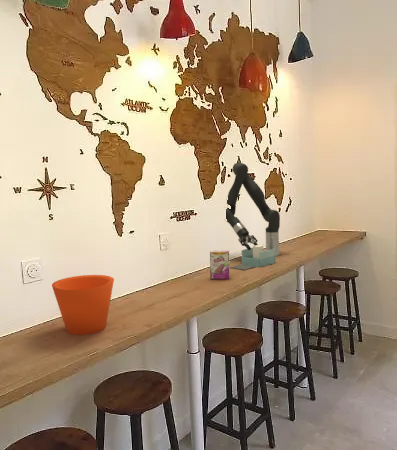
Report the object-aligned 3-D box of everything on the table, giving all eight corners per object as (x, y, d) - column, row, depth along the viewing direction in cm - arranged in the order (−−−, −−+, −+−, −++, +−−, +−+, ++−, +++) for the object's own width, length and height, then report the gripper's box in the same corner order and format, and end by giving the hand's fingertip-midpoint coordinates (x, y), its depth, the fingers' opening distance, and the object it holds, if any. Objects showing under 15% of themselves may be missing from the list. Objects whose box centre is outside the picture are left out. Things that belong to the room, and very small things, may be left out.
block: (257, 262, 313) (257, 245, 311) (263, 263, 309) (263, 245, 308) (253, 263, 309) (252, 246, 308) (259, 264, 306) (258, 246, 304)
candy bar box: (210, 279, 270) (209, 251, 268) (211, 277, 275) (210, 250, 273) (229, 279, 269) (228, 251, 267) (229, 277, 273) (229, 250, 272)
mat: (241, 265, 306) (241, 264, 306) (255, 267, 297) (255, 266, 297) (230, 268, 298) (230, 267, 298) (244, 270, 290) (244, 269, 290)
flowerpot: (68, 343, 176) (64, 293, 174) (47, 327, 196) (43, 281, 194) (127, 328, 190) (124, 281, 188) (101, 314, 211) (99, 272, 208)
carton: (257, 260, 320) (257, 246, 319) (275, 262, 310) (275, 248, 308) (241, 264, 309) (241, 250, 307) (259, 267, 298) (259, 252, 297)
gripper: (236, 228, 310) (250, 246, 303) (250, 226, 320) (263, 243, 313) (231, 235, 314) (244, 253, 307) (244, 233, 324) (257, 250, 317)
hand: (254, 248), depth 310 cm, fingers open, 8 cm apart
